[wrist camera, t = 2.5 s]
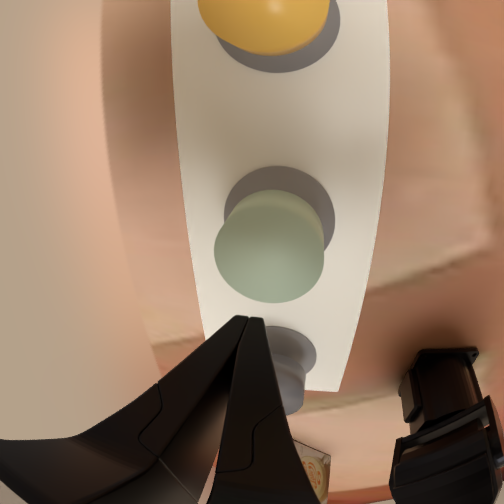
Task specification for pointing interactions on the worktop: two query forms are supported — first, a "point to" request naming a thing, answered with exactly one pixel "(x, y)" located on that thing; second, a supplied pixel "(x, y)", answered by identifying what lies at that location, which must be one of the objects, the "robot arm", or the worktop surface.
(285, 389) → the button charcoal
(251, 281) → the button sage
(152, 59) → the worktop surface
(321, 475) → the coffee box
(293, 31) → the button amber
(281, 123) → the button panel
